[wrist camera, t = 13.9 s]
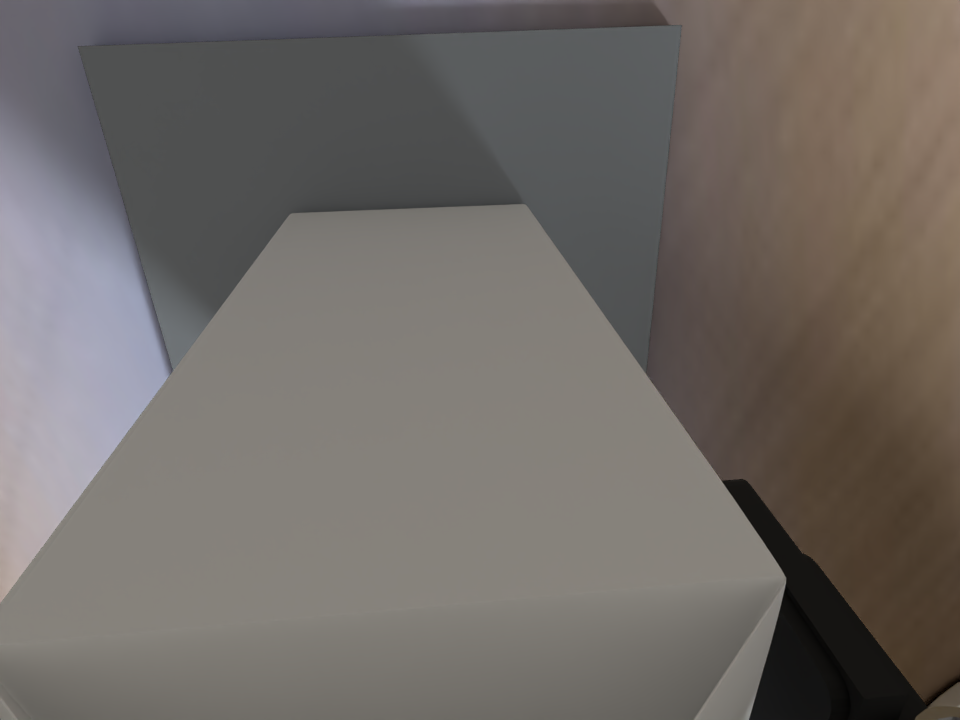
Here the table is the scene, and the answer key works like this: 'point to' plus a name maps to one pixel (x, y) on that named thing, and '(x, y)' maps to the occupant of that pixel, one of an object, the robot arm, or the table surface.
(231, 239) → the mat
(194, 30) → the table surface
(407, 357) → the milk carton
